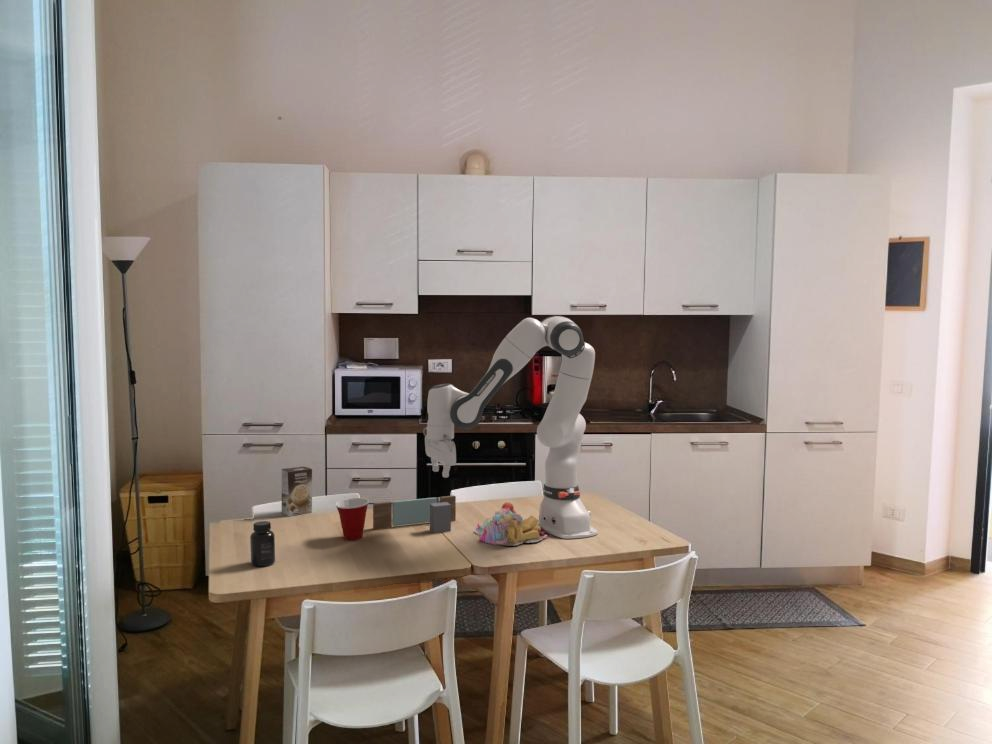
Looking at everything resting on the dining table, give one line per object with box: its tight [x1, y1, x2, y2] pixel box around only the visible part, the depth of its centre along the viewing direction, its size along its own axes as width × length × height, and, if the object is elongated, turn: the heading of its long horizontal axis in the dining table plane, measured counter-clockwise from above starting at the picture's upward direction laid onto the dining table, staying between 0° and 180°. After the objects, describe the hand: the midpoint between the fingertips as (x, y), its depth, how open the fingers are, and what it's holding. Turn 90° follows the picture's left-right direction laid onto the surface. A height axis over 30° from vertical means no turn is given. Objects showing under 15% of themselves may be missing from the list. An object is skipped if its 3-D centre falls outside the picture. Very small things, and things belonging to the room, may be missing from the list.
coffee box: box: [281, 466, 313, 517], centre depth 288 cm, size 9×6×16 cm
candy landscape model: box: [474, 501, 550, 547], centre depth 264 cm, size 25×24×9 cm
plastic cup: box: [334, 497, 370, 541], centre depth 259 cm, size 11×11×12 cm
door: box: [391, 496, 441, 527], centre depth 275 cm, size 1×17×8 cm, turn 114°
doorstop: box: [429, 502, 452, 534], centre depth 268 cm, size 4×6×9 cm, turn 114°
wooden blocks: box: [372, 495, 457, 530], centre depth 275 cm, size 2×29×9 cm, turn 114°
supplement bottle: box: [249, 520, 276, 568], centre depth 233 cm, size 7×7×12 cm
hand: (440, 474), depth 267 cm, fingers open, 8 cm apart
